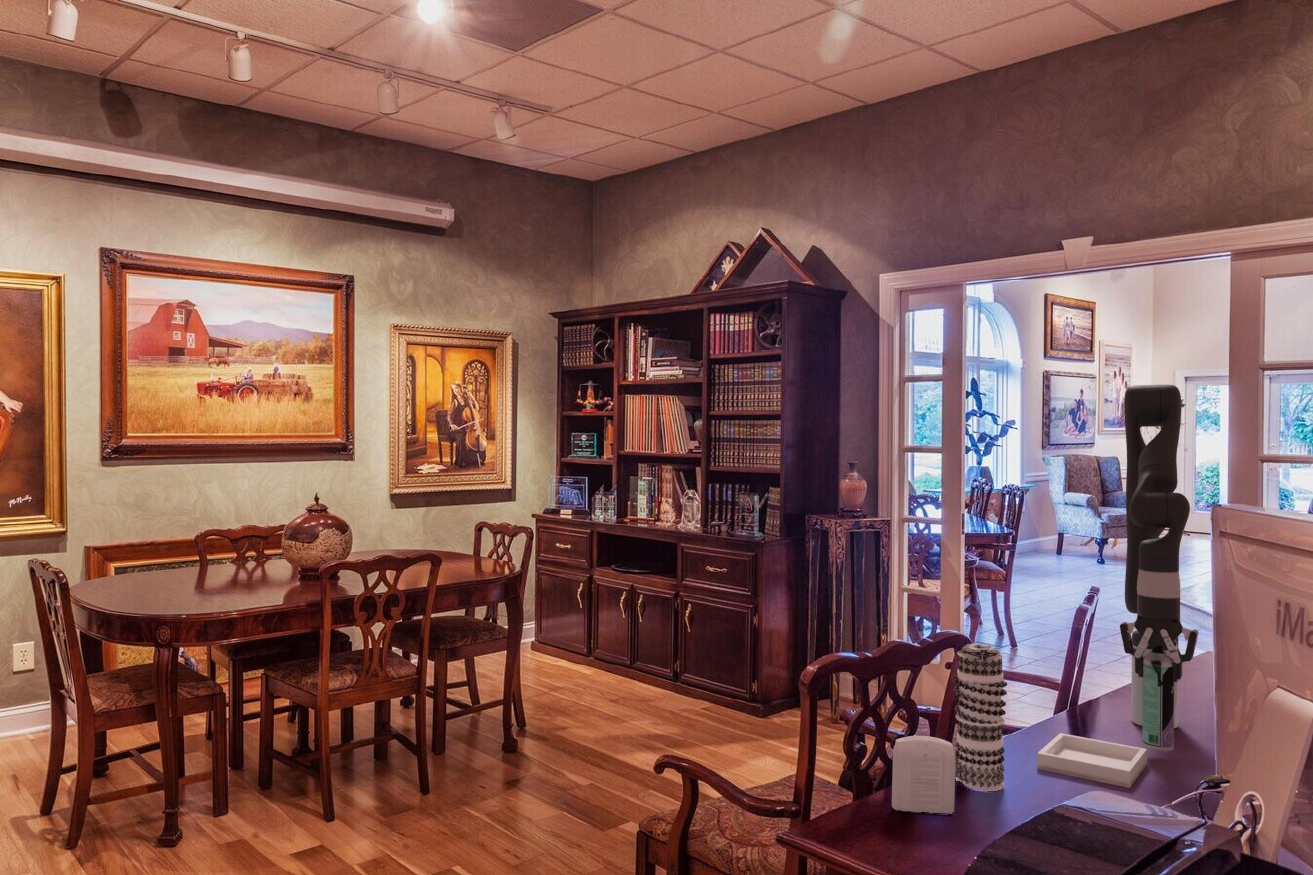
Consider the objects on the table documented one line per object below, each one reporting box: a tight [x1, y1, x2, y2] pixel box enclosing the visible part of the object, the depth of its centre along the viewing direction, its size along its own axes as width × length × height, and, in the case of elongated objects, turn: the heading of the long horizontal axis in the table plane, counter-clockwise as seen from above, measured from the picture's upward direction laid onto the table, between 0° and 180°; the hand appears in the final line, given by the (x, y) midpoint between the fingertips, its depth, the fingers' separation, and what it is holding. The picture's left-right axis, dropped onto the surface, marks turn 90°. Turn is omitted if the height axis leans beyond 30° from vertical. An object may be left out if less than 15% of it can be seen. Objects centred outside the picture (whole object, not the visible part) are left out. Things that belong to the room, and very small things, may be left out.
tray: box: [1036, 732, 1148, 789], centre depth 182 cm, size 16×16×3 cm
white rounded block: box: [891, 735, 956, 815], centre depth 160 cm, size 10×4×12 cm, turn 81°
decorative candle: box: [953, 643, 1008, 791], centre depth 172 cm, size 9×9×25 cm
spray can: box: [1142, 645, 1175, 752], centre depth 187 cm, size 6×6×20 cm
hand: (1158, 678), depth 187 cm, fingers closed on spray can, 5 cm apart
